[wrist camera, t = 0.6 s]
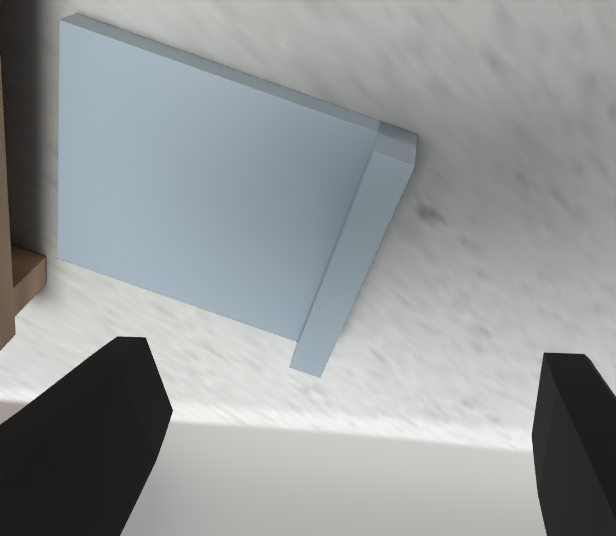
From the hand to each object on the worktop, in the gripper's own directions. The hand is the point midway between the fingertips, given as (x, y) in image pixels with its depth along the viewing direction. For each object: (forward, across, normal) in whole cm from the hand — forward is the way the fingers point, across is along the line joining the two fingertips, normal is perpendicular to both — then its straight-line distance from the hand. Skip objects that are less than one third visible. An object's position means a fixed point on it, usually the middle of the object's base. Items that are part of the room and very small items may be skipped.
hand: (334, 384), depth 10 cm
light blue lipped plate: (+10, +6, +1) cm, 11 cm away
